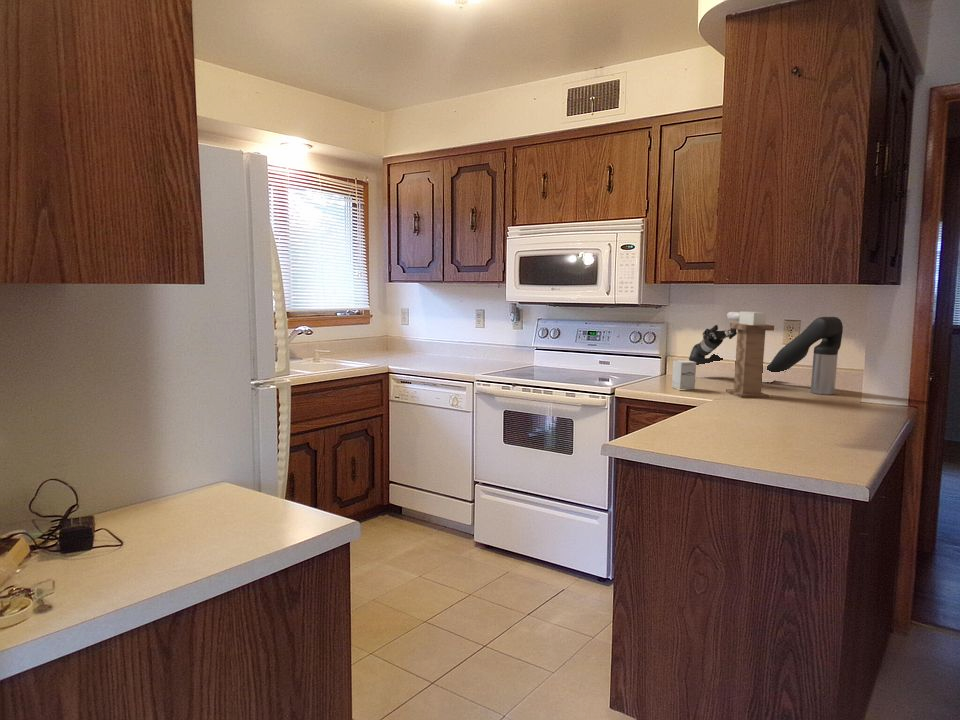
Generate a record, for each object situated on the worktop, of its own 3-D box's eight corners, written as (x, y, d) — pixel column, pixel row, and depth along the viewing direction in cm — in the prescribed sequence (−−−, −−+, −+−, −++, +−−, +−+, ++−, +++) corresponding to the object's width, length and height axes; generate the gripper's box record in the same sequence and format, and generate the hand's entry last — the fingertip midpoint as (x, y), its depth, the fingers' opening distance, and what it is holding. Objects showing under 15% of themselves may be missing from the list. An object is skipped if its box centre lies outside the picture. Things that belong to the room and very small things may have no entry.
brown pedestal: (725, 392, 282) (730, 322, 278) (752, 392, 283) (757, 323, 279) (741, 398, 268) (746, 325, 264) (769, 398, 269) (774, 325, 265)
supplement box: (679, 390, 283) (681, 362, 281) (671, 388, 290) (672, 360, 289) (695, 390, 285) (696, 362, 283) (686, 387, 292) (688, 359, 290)
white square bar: (725, 321, 290) (725, 309, 290) (735, 321, 291) (736, 310, 290) (753, 325, 265) (754, 313, 265) (764, 325, 266) (765, 313, 265)
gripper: (727, 348, 308) (742, 334, 293) (698, 348, 307) (712, 334, 292) (724, 334, 311) (739, 319, 296) (695, 334, 310) (709, 319, 295)
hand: (726, 326), depth 294 cm, fingers open, 8 cm apart
